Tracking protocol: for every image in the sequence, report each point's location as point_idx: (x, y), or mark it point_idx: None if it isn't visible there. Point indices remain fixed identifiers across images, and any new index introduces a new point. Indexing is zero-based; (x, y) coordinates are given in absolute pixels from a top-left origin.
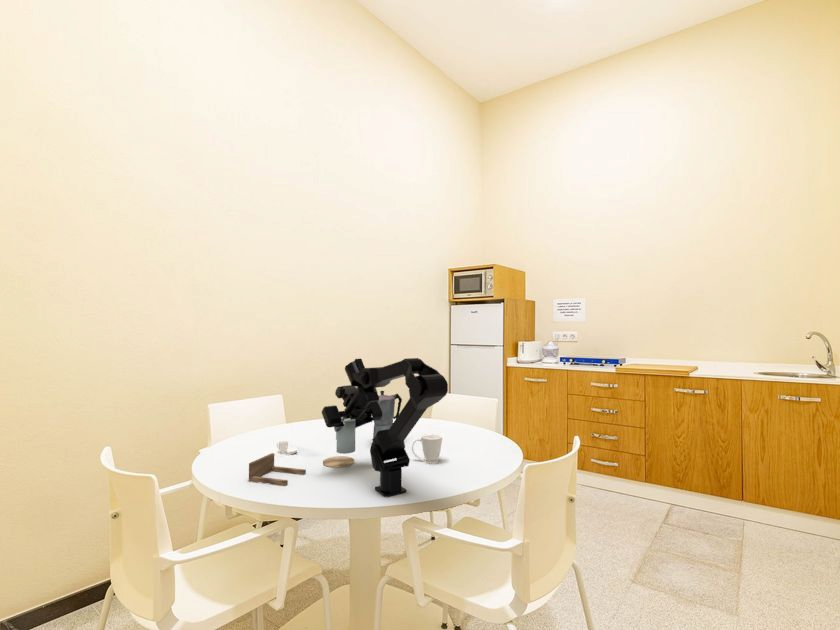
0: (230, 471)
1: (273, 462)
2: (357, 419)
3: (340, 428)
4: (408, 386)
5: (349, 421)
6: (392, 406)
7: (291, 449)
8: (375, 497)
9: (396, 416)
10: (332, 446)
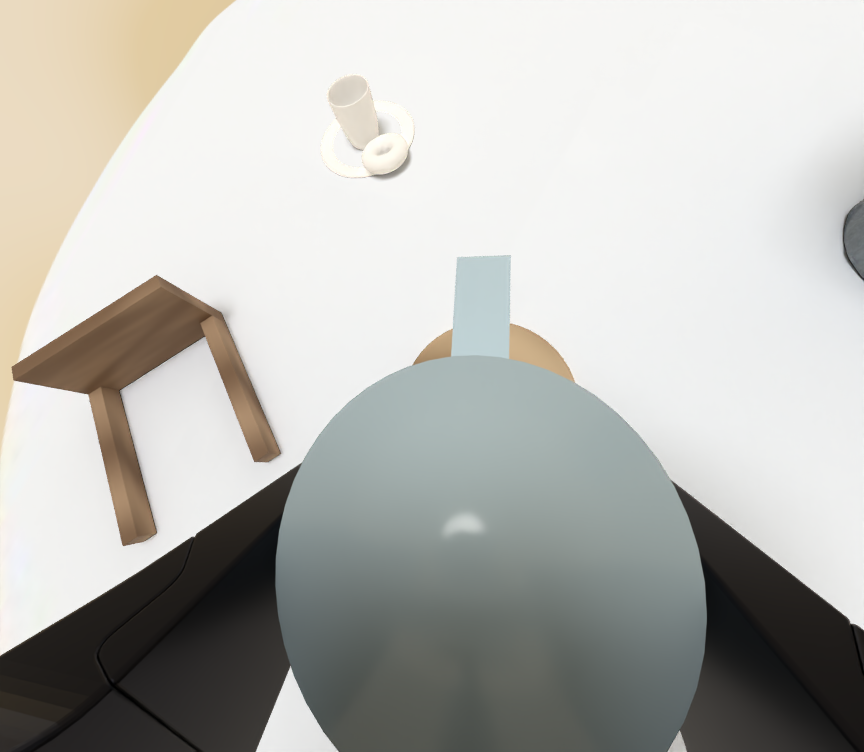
0: (133, 249)
1: (194, 309)
2: (767, 745)
3: (274, 685)
4: None
5: (470, 730)
6: None
7: (386, 138)
8: None
9: None
10: (592, 149)
